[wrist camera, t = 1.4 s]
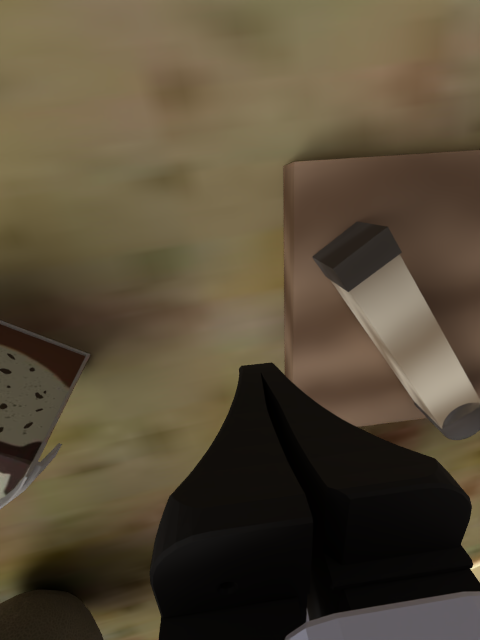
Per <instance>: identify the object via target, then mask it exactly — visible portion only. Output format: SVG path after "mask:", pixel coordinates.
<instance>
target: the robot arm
mask: <svg viewBox="0 0 480 640" xmlns="http://www.w3.org/2000/svg"><path fill="white" fill-rule="evenodd" d="M471 509H472V506H471V502H470V498H469V496H468V495H467V494H466V493H465V492H464V490H463V489H462V488H461V487H460V486H459V484H458V483H457V482H456V481H455V480H454V478H453V477H452V476H451V475H450V474H449V473H448V472H447V470H446V469H445V468H444V467H443V466H442V465H441V464H440V463H439V462H438V461H437V460H436V459H435V458H432V457H429V456H426V455H423V454H420V453H417V452H415V451H412V450H409V449H406V448H403V447H400V446H398V445H395V444H393V443H390V442H388V441H386V440H383V439H381V438H379V437H376V436H374V435H372V434H370V433H368V432H366V431H364V430H362V429H360V428H358V427H356V426H354V425H352V424H350V423H348V422H346V421H345V420H343V419H341V418H340V417H338V416H336V415H335V414H333V413H332V412H330V411H328V410H327V409H325V408H324V407H322V406H321V405H319V404H318V403H317V402H315V401H314V400H313V399H311V398H310V397H309V396H308V395H306V394H305V393H304V392H303V391H302V390H300V389H299V388H298V387H297V386H296V385H295V384H294V383H293V382H291V381H290V380H289V379H288V378H287V377H286V376H285V375H284V374H283V373H282V372H281V371H280V370H279V369H278V368H277V367H276V366H275V365H274V364H273V363H264V364H255V365H245V366H241V367H240V368H239V381H238V386H237V389H236V393H235V397H234V400H233V402H232V405H231V407H230V410H229V413H228V415H227V417H226V419H225V421H224V423H223V425H222V427H221V429H220V431H219V433H218V434H217V436H216V438H215V440H214V441H213V443H212V445H211V446H210V448H209V449H208V451H207V452H206V453H205V455H204V456H203V457H202V459H201V460H200V461H199V463H198V464H197V466H196V467H195V468H194V470H193V471H192V472H191V473H190V474H189V476H188V477H187V478H186V479H185V480H184V481H183V482H182V483H181V484H180V486H179V487H178V488H177V489H176V490H175V491H174V492H173V493H172V494H171V495H170V497H169V499H168V502H167V504H166V507H165V510H164V512H163V515H162V518H161V521H160V524H159V528H158V532H157V535H156V539H155V543H154V549H153V555H152V562H151V568H150V582H151V586H152V589H153V592H154V596H155V599H156V602H157V605H158V608H159V611H160V614H161V624H160V633H159V640H480V582H479V581H478V580H477V578H476V577H475V575H474V574H473V573H472V571H471V570H470V568H472V566H473V563H472V560H471V558H470V557H469V555H468V554H467V553H466V551H465V550H464V548H463V547H462V546H461V542H462V539H463V536H464V534H465V531H466V528H467V526H468V523H469V520H470V515H471Z"/></svg>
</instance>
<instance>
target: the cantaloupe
mask: <svg viewBox="0 0 480 640" xmlns="http://www.w3.org/2000/svg"><path fill="white" fill-rule="evenodd" d="M0 640H103V637H102V634H101V632H100V630H99V628H98V626H97V624H96V622H95V620H94V618H93V616H92V615H91V613H90V611H89V610H88V609H87V608H86V607H85V605H84V604H83V602H82V601H81V600H80V599H79V598H77V597H76V596H74V595H72V594H70V593H68V592H65V591H58V590H33V591H29V592H25V593H22V594H19V595H17V596H15V597H13V598H11V599H9V600H7V601H5V602H3V603H1V604H0Z"/></svg>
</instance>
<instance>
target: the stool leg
mask: <svg viewBox="0 0 480 640" xmlns="http://www.w3.org/2000/svg"><path fill="white" fill-rule="evenodd" d="M401 253H402V251H401V250H400V248H399V246H398V244H397V242H396V240H395V239H394V237H393V235H392V233H391V231H390V230H389V228H388V227H387V226H381V225H375V224H369V223H363V222H356V223H355V224H353V225H352V226H351V227H349V228H348V229H347V230H346V231H344V232H343V233H342V234H341V235H339V236H338V237H337V238H335V239H334V240H333V241H332V242H330V243H329V244H328V245H327V246H325V247H324V248H323V249H321V250H320V251H319V252H318V253H316V254H315V255H314V256H313V257H312V258H313V259H314V261H315V262H316V263H317V265H318V266H319V268H320V269H321V271H322V272H323V274H324V275H325V276H326V277H327V278H328V279H330V280H331V282H332V283H333V285H334V286H335V287H336V289H337V290H338V292H339V293H340V295H341V296H342V298H343V299H344V301H345V302H346V303H347V305H348V306H349V308H350V309H351V311H352V312H353V314H354V315H355V316H356V318H357V319H358V321H359V322H360V324H361V325H362V327H363V328H364V330H365V331H366V332H367V334H368V335H369V337H370V338H371V340H372V341H373V343H374V344H375V346H376V347H377V348H378V350H379V351H380V353H381V354H382V356H383V357H384V359H385V360H386V361H387V363H388V364H389V366H390V367H391V369H392V370H393V372H394V373H395V375H396V376H397V377H398V379H399V380H400V382H401V383H402V385H403V386H404V388H405V389H406V390H407V392H408V393H409V395H410V396H411V398H412V399H413V401H414V404H415V406H416V407H417V408H418V409H419V410H420V411H421V412H422V413H423V414H424V415H425V416H426V417H427V418H428V419H429V420H430V421H431V422H432V423H433V424H434V425H435V426H436V427H437V428H438V429H439V430H440V431H441V432H442V433H443V434H444V435H445V436H446V437H447V438H449V439H452V440H461V439H465V438H468V437H470V436H472V435H474V434H475V433H477V432H478V431H479V430H480V399H479V397H478V395H477V393H476V392H475V390H474V388H473V386H472V384H471V382H470V381H469V379H468V377H467V375H466V373H465V372H464V370H463V368H462V366H461V364H460V363H459V361H458V359H457V357H456V355H455V354H454V352H453V350H452V348H451V346H450V344H449V343H448V341H447V339H446V337H445V335H444V334H443V332H442V330H441V328H440V326H439V325H438V323H437V321H436V319H435V317H434V316H433V314H432V312H431V310H430V308H429V307H428V305H427V303H426V301H425V299H424V297H423V296H422V294H421V292H420V290H419V288H418V287H417V285H416V283H415V281H414V279H413V278H412V276H411V274H410V272H409V270H408V269H407V267H406V265H405V263H404V261H403V259H402V258H401V256H400V254H401Z"/></svg>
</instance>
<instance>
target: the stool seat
mask: <svg viewBox="0 0 480 640" xmlns="http://www.w3.org/2000/svg"><path fill="white" fill-rule="evenodd" d="M283 171H284V327H285V376H286V377H287V378H288V379H289V380H290V381H291V382H293V383H294V384H295V385H296V386H297V387H298V388H299V389H300V390H302V391H303V392H304V393H305V394H306V395H308V396H309V397H310V398H311V399H313V400H314V401H315V402H317V403H318V404H319V405H321V406H322V407H324V408H325V409H327V410H328V411H330V412H332V413H333V414H335V415H336V416H338V417H340V418H341V419H343V420H345V421H346V422H348V423H350V424H352V425H354V426H356V427H360V426H368V425H376V424H384V423H392V422H400V421H408V420H416V419H424V418H427V417H426V416H425V415H424V414H423V413H422V412H421V411H420V410H419V409H418V408H417V407H416V406H415V404H414V401H413V399H412V398H411V396H410V395H409V393H408V392H407V390H406V389H405V388H404V386H403V385H402V383H401V382H400V380H399V379H398V377H397V376H396V375H395V373H394V372H393V370H392V369H391V367H390V366H389V364H388V363H387V361H386V360H385V359H384V357H383V356H382V354H381V353H380V351H379V350H378V348H377V347H376V346H375V344H374V343H373V341H372V340H371V338H370V337H369V335H368V334H367V332H366V331H365V330H364V328H363V327H362V325H361V324H360V322H359V321H358V319H357V318H356V316H355V315H354V314H353V312H352V311H351V309H350V308H349V306H348V305H347V303H346V302H345V301H344V299H343V298H342V296H341V295H340V293H339V292H338V290H337V289H336V287H335V286H334V285H333V283H332V282H331V280H330V279H328V278H327V277H326V276H325V275H324V274H323V272H322V271H321V269H320V268H319V266H318V265H317V263H316V262H315V261H314V259H313V258H312V257H313V256H314V255H315V254H316V253H318V252H319V251H320V250H321V249H323V248H324V247H325V246H327V245H328V244H329V243H330V242H332V241H333V240H334V239H335V238H337V237H338V236H339V235H341V234H342V233H343V232H344V231H346V230H347V229H348V228H349V227H351V226H352V225H353V224H355V223H356V222H363V223H369V224H375V225H381V226H387V227H388V228H389V230H390V231H391V233H392V235H393V237H394V239H395V240H396V242H397V244H398V246H399V248H400V250H401V251H402V253H401V254H400V256H401V258H402V259H403V261H404V263H405V265H406V267H407V269H408V270H409V272H410V274H411V276H412V278H413V279H414V281H415V283H416V285H417V287H418V288H419V290H420V292H421V294H422V296H423V297H424V299H425V301H426V303H427V305H428V307H429V308H430V310H431V312H432V314H433V316H434V317H435V319H436V321H437V323H438V325H439V326H440V328H441V330H442V332H443V334H444V335H445V337H446V339H447V341H448V343H449V344H450V346H451V348H452V350H453V352H454V354H455V355H456V357H457V359H458V361H459V363H460V364H461V366H462V368H463V370H464V372H465V373H466V375H467V377H468V379H469V381H470V382H471V384H472V386H473V388H474V390H475V392H476V393H477V395H478V397H479V399H480V150H469V151H454V152H438V153H422V154H407V155H391V156H376V157H360V158H345V159H329V160H313V161H298V162H293V163H290V164H288V165H285V166H283Z"/></svg>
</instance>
